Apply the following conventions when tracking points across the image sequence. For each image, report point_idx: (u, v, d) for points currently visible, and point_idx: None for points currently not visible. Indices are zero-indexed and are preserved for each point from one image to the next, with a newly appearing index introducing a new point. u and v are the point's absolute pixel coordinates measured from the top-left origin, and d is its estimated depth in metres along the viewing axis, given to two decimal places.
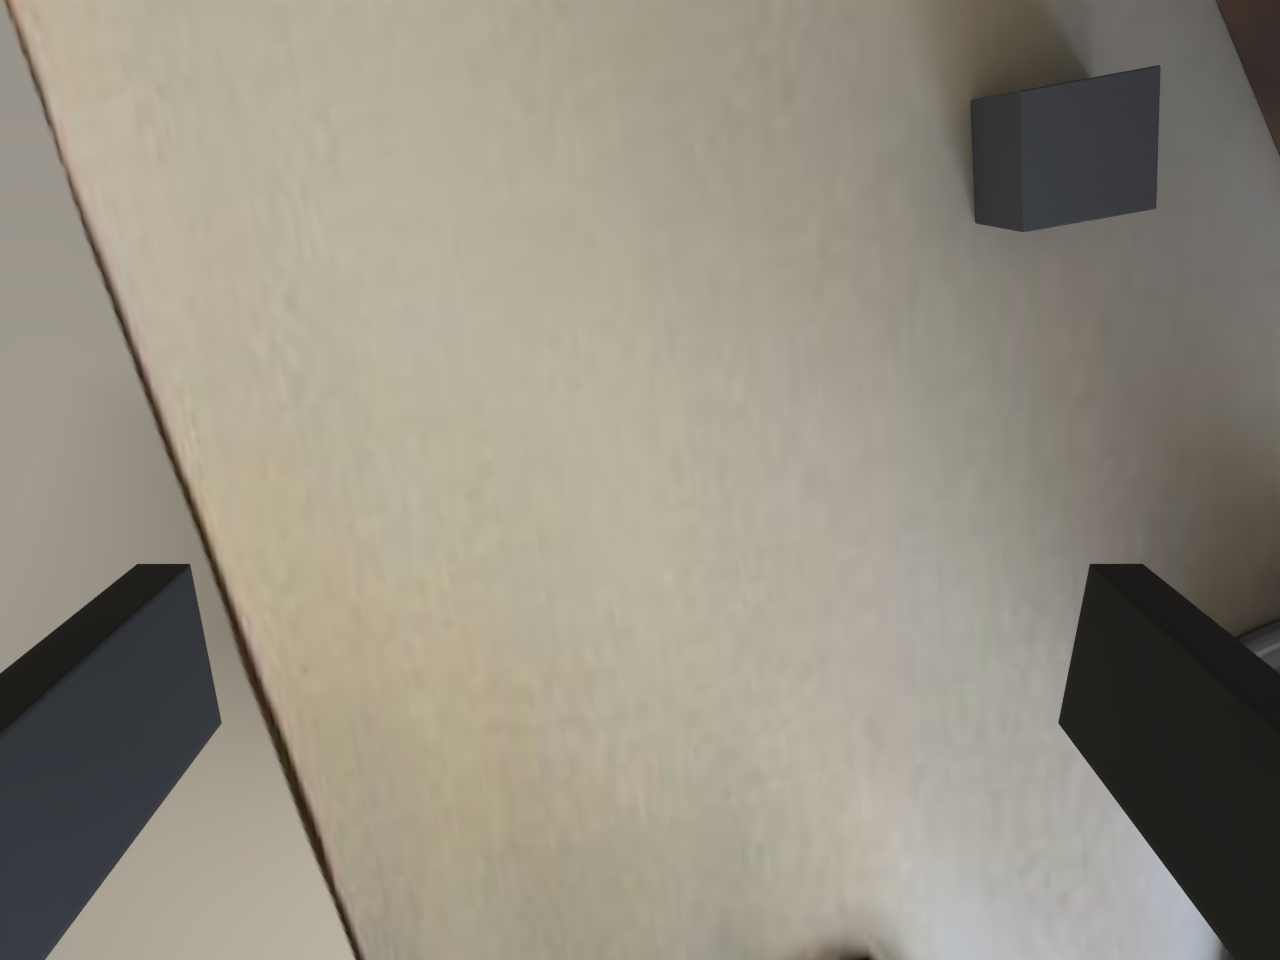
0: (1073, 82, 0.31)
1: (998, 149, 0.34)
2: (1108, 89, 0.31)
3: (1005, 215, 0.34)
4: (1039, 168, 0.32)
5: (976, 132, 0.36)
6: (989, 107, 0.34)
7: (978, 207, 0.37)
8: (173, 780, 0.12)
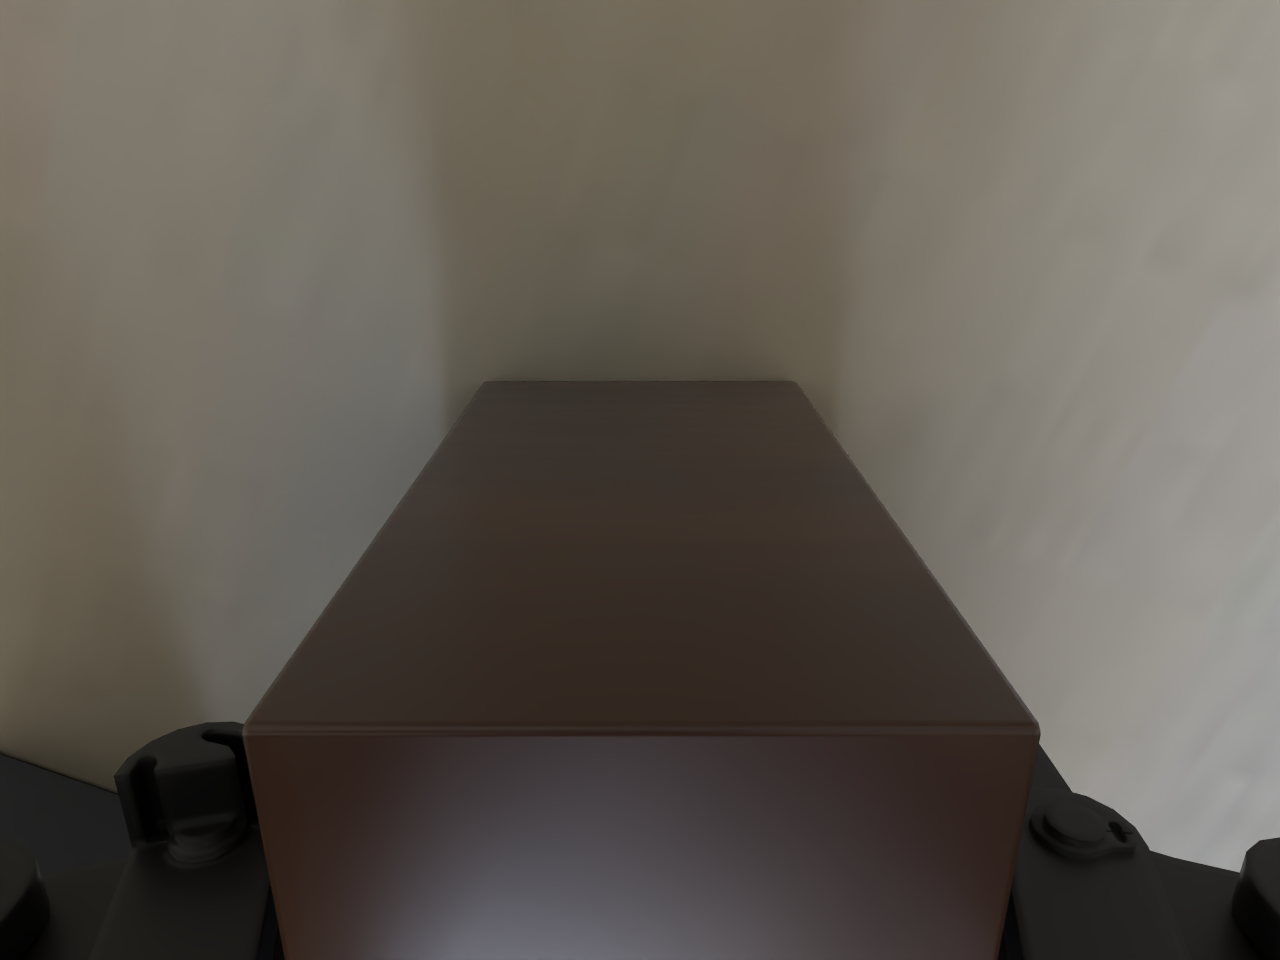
0: None
1: None
2: None
3: None
4: None
5: None
6: None
7: None
8: None
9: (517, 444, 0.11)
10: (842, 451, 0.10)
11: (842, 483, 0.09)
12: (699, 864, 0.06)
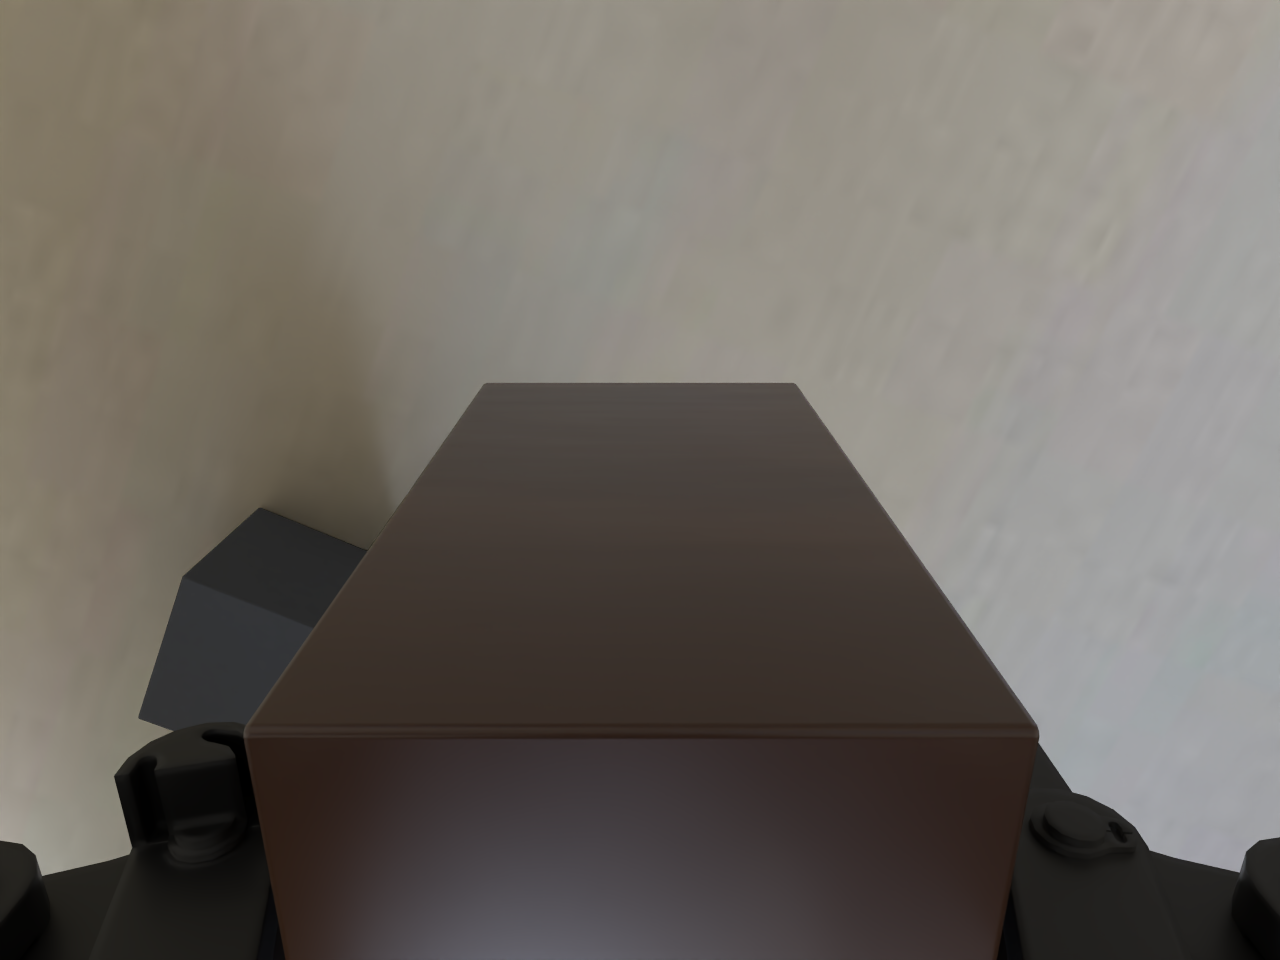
0: (250, 604, 0.23)
1: None
2: (290, 635, 0.24)
3: None
4: (179, 666, 0.24)
5: None
6: None
7: None
8: None
9: (517, 446, 0.11)
10: (842, 453, 0.10)
11: (842, 485, 0.09)
12: (697, 867, 0.06)
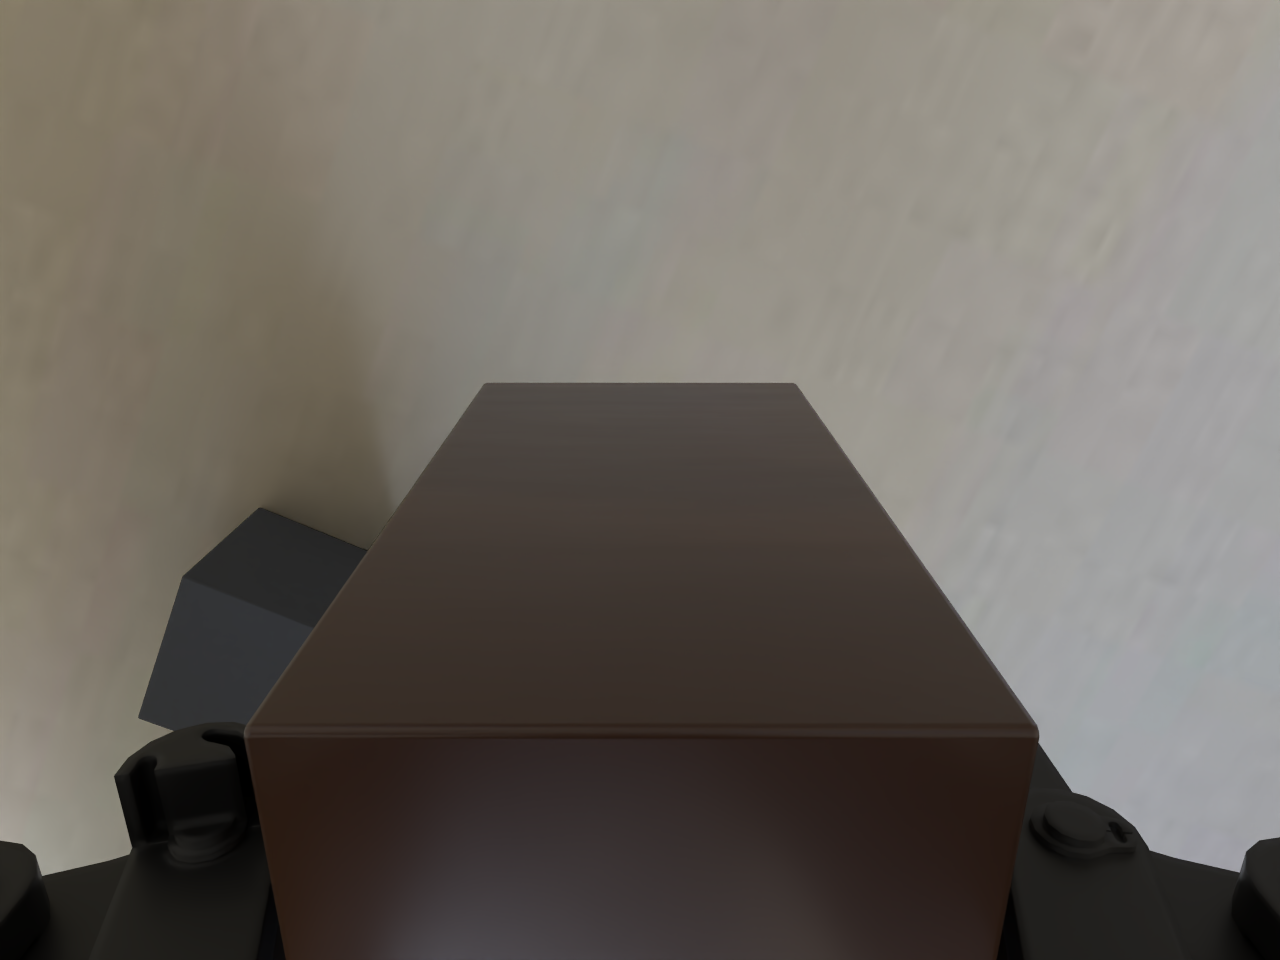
0: (250, 604, 0.23)
1: None
2: (290, 634, 0.24)
3: None
4: (179, 666, 0.24)
5: None
6: None
7: None
8: None
9: (516, 446, 0.11)
10: (842, 453, 0.10)
11: (842, 485, 0.09)
12: (698, 867, 0.06)
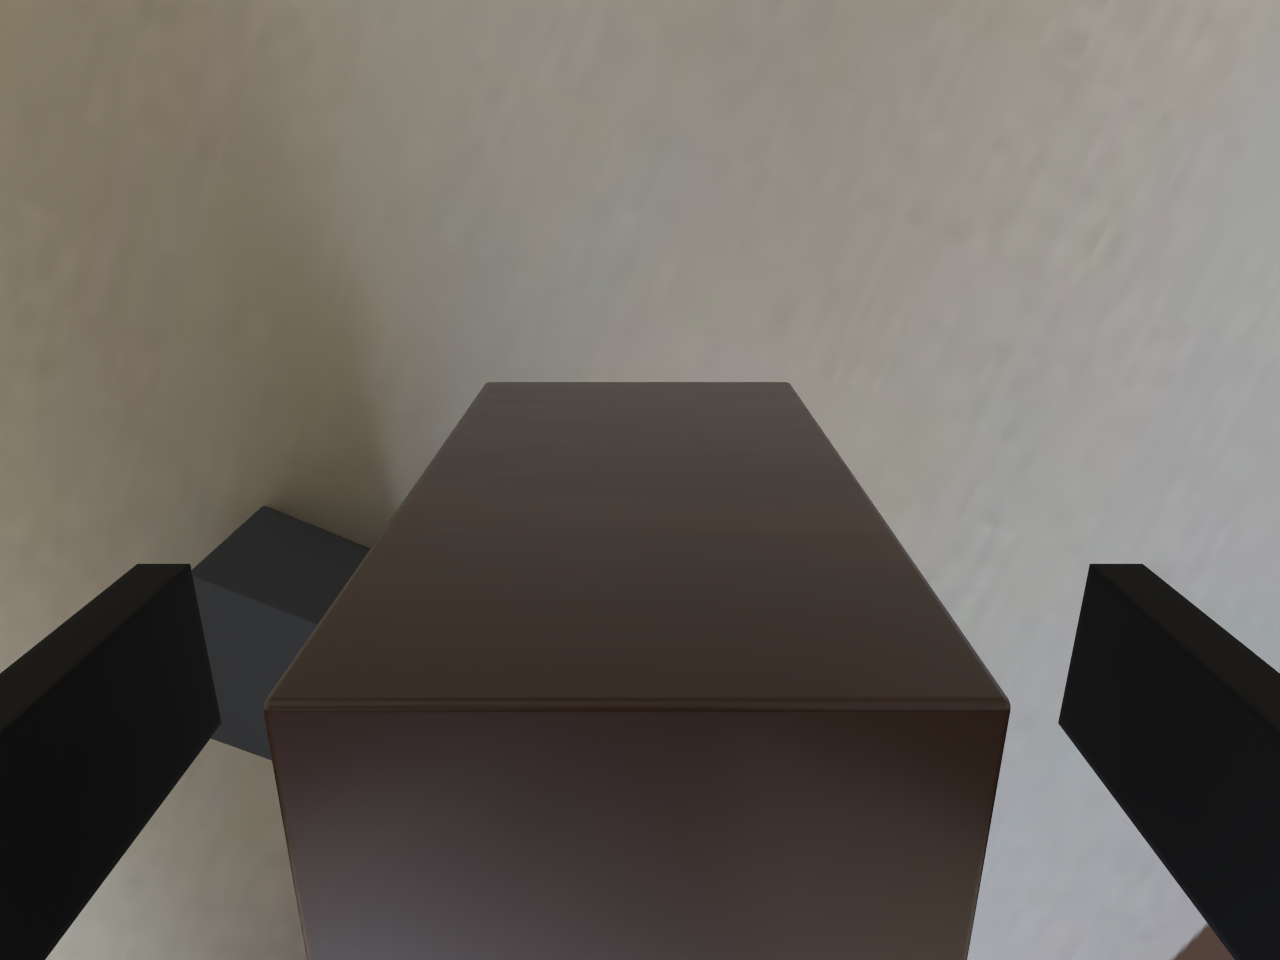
0: (254, 600, 0.24)
1: None
2: (294, 631, 0.24)
3: None
4: None
5: None
6: None
7: None
8: (174, 780, 0.12)
9: (518, 442, 0.11)
10: (832, 449, 0.11)
11: (831, 479, 0.10)
12: (691, 834, 0.06)
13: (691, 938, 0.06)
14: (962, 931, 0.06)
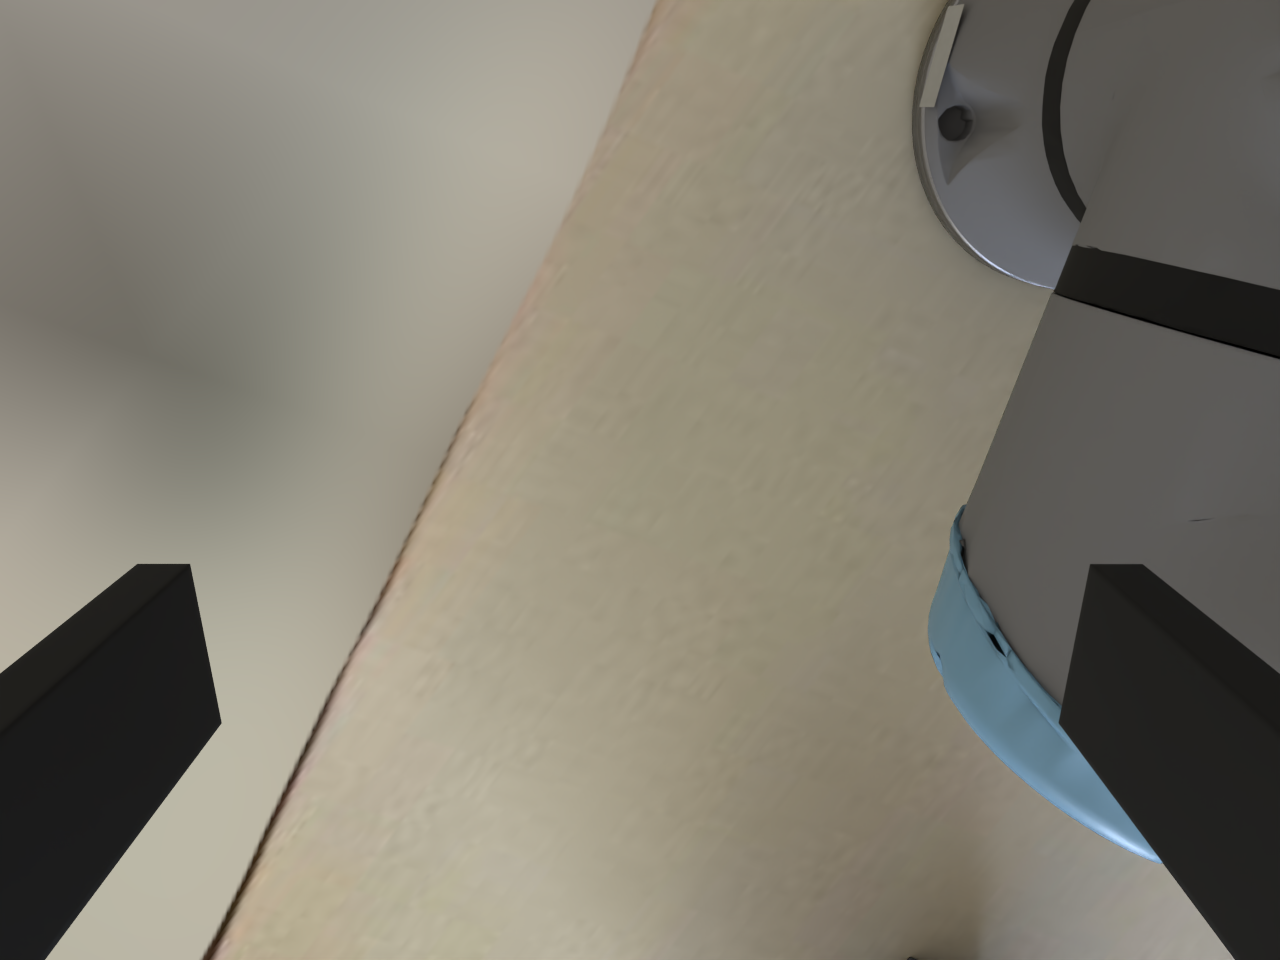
0: None
1: None
2: None
3: None
4: None
5: None
6: None
7: None
8: (173, 780, 0.12)
9: None
10: None
11: None
12: None
13: None
14: None
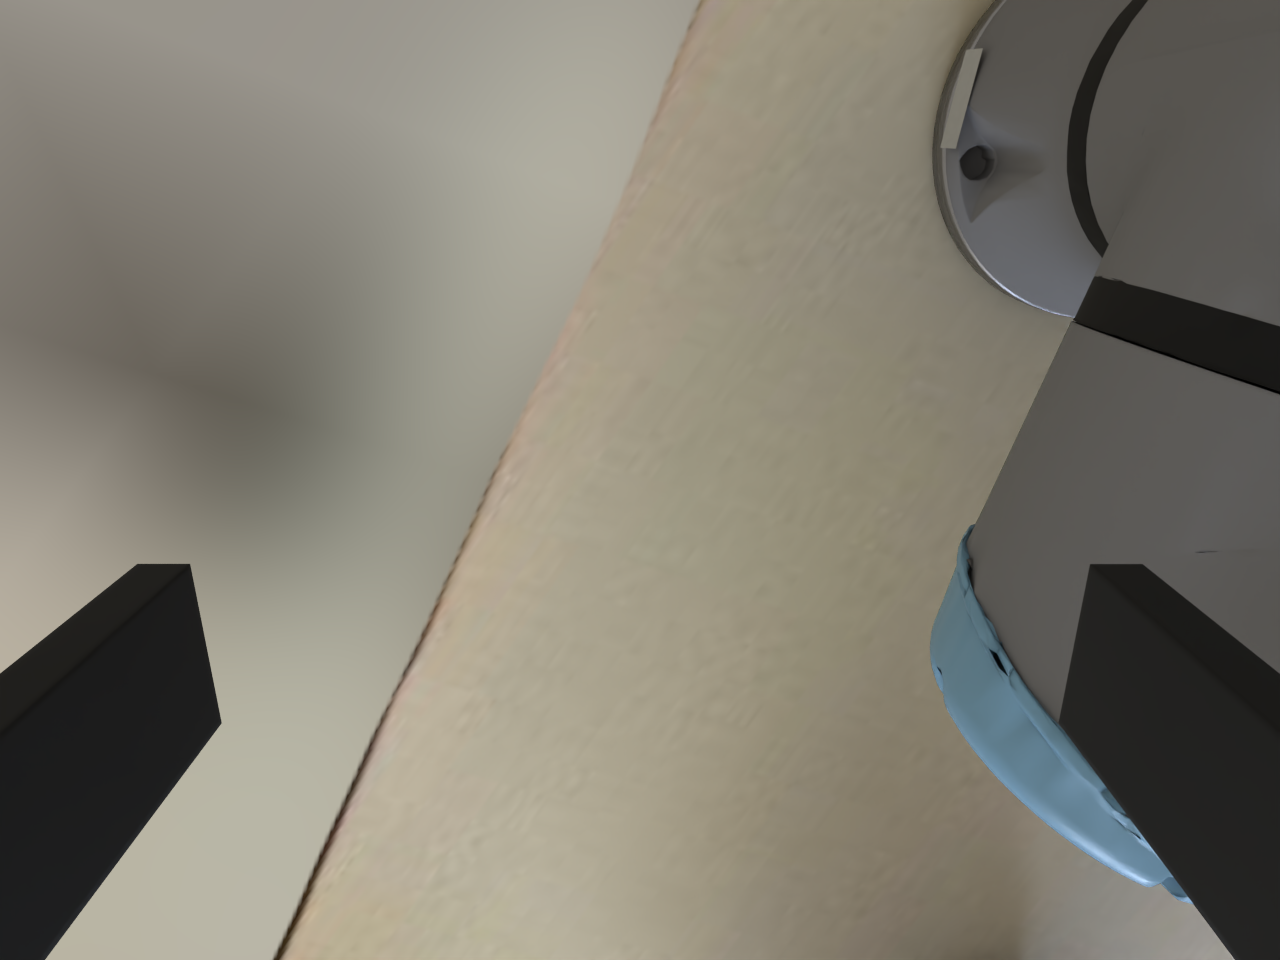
0: None
1: None
2: None
3: None
4: None
5: None
6: None
7: None
8: (173, 780, 0.12)
9: None
10: None
11: None
12: None
13: None
14: None
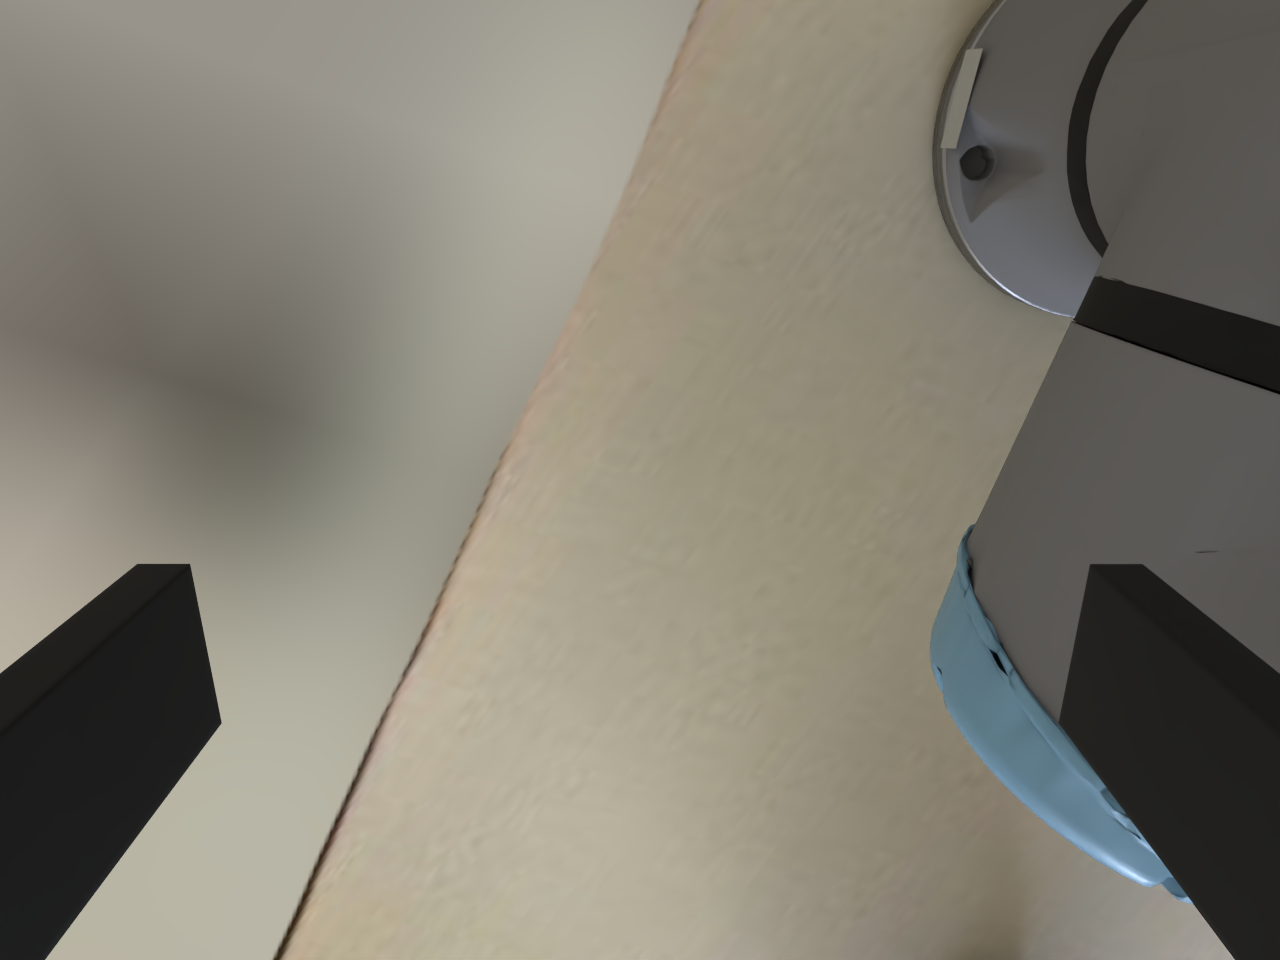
0: None
1: None
2: None
3: None
4: None
5: None
6: None
7: None
8: (173, 780, 0.12)
9: None
10: None
11: None
12: None
13: None
14: None
